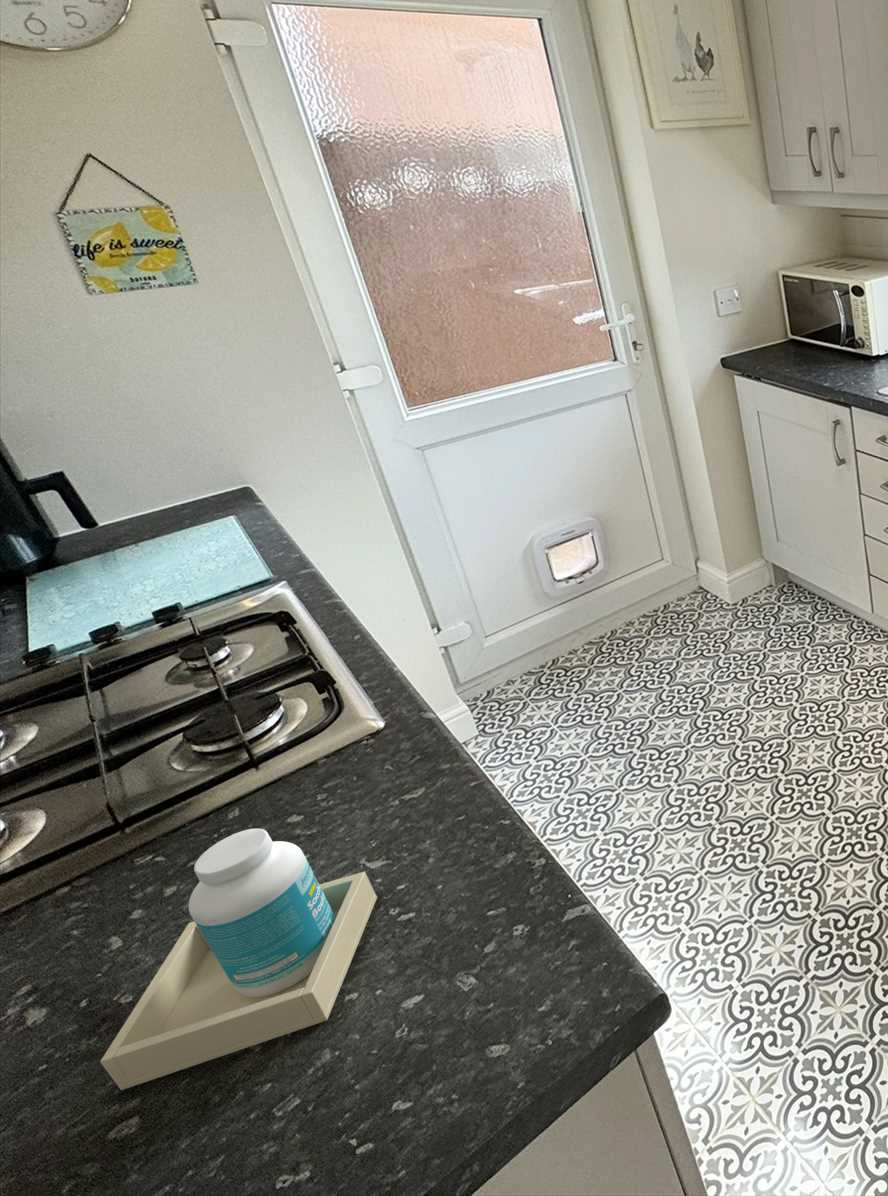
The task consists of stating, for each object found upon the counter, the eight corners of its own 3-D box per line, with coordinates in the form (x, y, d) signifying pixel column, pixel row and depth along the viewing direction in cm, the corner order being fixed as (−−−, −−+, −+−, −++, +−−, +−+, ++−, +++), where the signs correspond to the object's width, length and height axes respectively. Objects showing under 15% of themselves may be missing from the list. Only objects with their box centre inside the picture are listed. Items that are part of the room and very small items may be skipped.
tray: (120, 1090, 62) (99, 1061, 60) (205, 949, 73) (188, 922, 71) (327, 1020, 66) (311, 992, 65) (377, 897, 77) (365, 870, 76)
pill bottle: (357, 946, 72) (302, 837, 67) (254, 1019, 66) (186, 905, 61) (324, 908, 75) (270, 803, 71) (224, 974, 70) (158, 864, 65)
